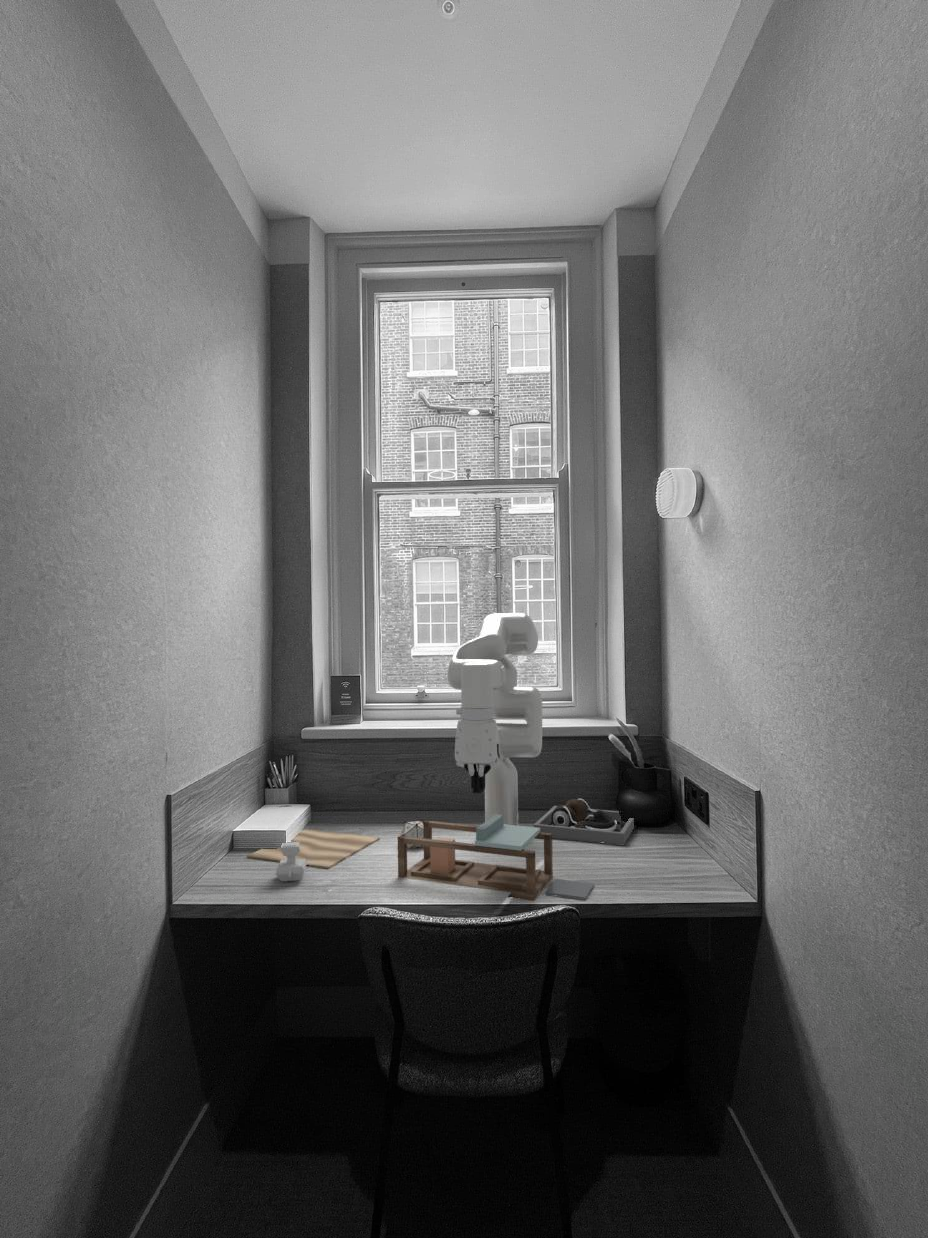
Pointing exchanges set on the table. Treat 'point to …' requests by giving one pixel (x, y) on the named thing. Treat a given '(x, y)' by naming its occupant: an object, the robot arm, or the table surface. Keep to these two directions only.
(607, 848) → the table surface
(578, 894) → the coaster
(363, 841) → the cork mat
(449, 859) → the block
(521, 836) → the lid
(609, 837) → the tray rim
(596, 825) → the headset
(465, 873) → the frame
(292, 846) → the stamp
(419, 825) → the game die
